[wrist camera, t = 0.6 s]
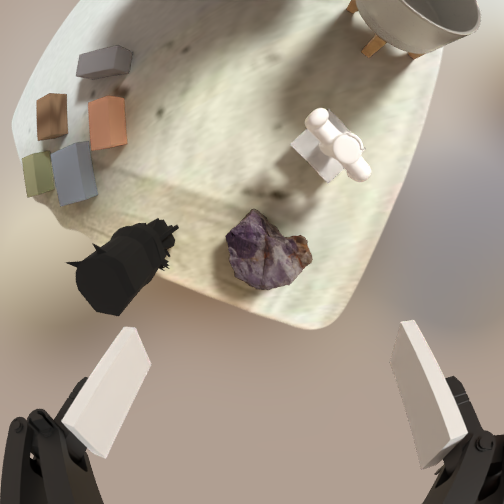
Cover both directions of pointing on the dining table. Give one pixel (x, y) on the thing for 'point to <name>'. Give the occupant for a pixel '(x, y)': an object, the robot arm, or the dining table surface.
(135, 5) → the dining table surface
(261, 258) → the rock
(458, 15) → the planter
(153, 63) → the dining table surface
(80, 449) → the robot arm
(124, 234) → the toy
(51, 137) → the walnut block
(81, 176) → the slate slab
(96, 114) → the terracotta block
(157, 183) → the dining table surface
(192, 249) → the dining table surface
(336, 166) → the figurine
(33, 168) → the olive block
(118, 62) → the charcoal block
